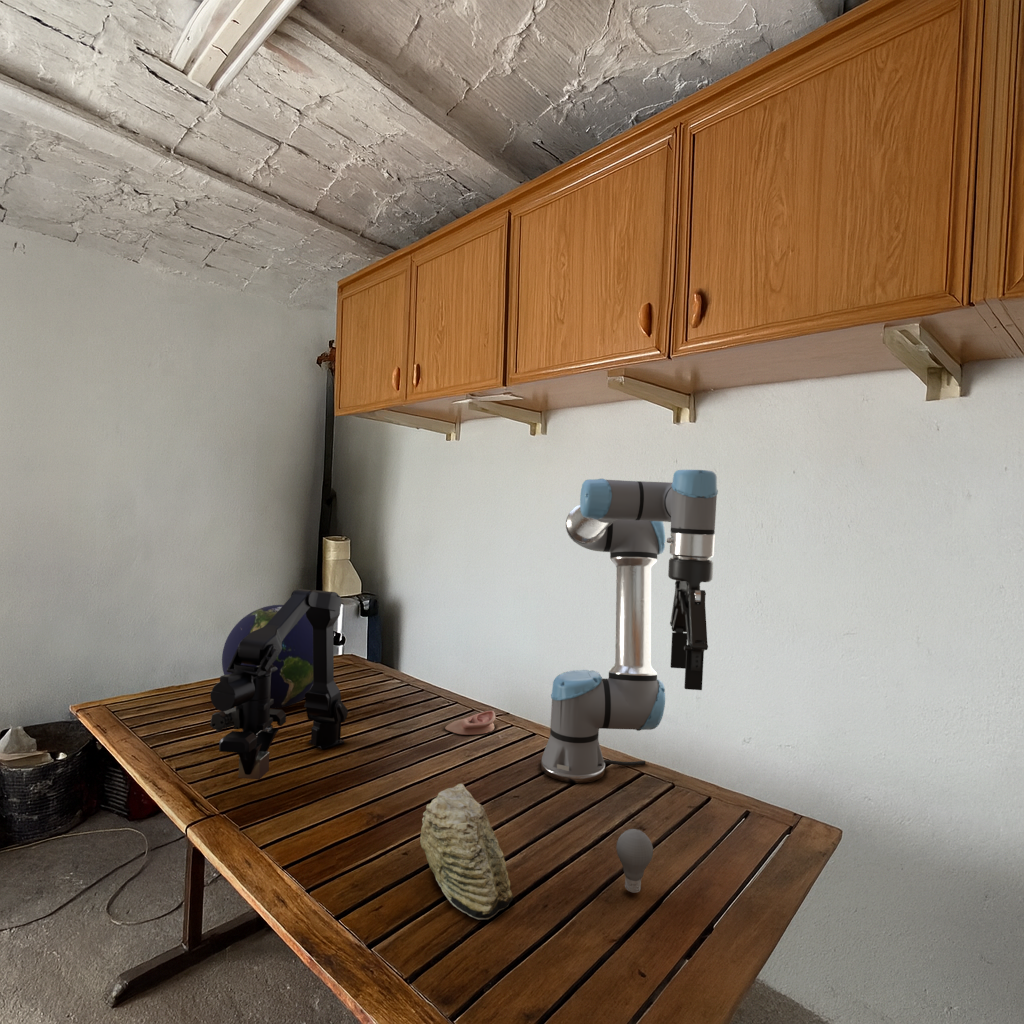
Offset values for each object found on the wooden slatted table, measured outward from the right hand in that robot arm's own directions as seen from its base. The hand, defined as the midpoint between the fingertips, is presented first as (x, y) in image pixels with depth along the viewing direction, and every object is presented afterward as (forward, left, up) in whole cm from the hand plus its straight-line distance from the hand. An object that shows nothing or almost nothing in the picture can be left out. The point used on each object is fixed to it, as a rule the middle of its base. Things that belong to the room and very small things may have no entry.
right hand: (685, 678), depth 112 cm
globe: (+71, -103, -34) cm, 130 cm away
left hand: (+74, -48, -30) cm, 92 cm away
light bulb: (+11, +4, -34) cm, 36 cm away
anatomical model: (+19, -74, -34) cm, 84 cm away
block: (+73, -47, -31) cm, 93 cm away
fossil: (+38, -4, -34) cm, 51 cm away
